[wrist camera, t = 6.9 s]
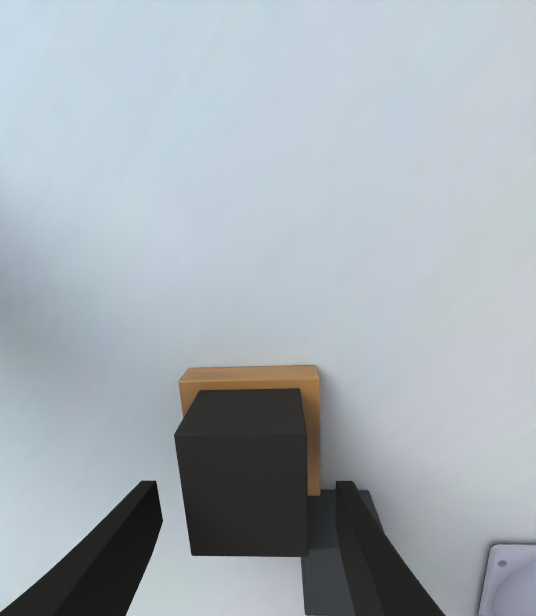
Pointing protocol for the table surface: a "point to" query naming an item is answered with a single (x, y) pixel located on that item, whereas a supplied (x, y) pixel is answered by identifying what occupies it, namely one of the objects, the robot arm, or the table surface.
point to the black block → (245, 473)
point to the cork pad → (266, 379)
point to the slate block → (326, 559)
